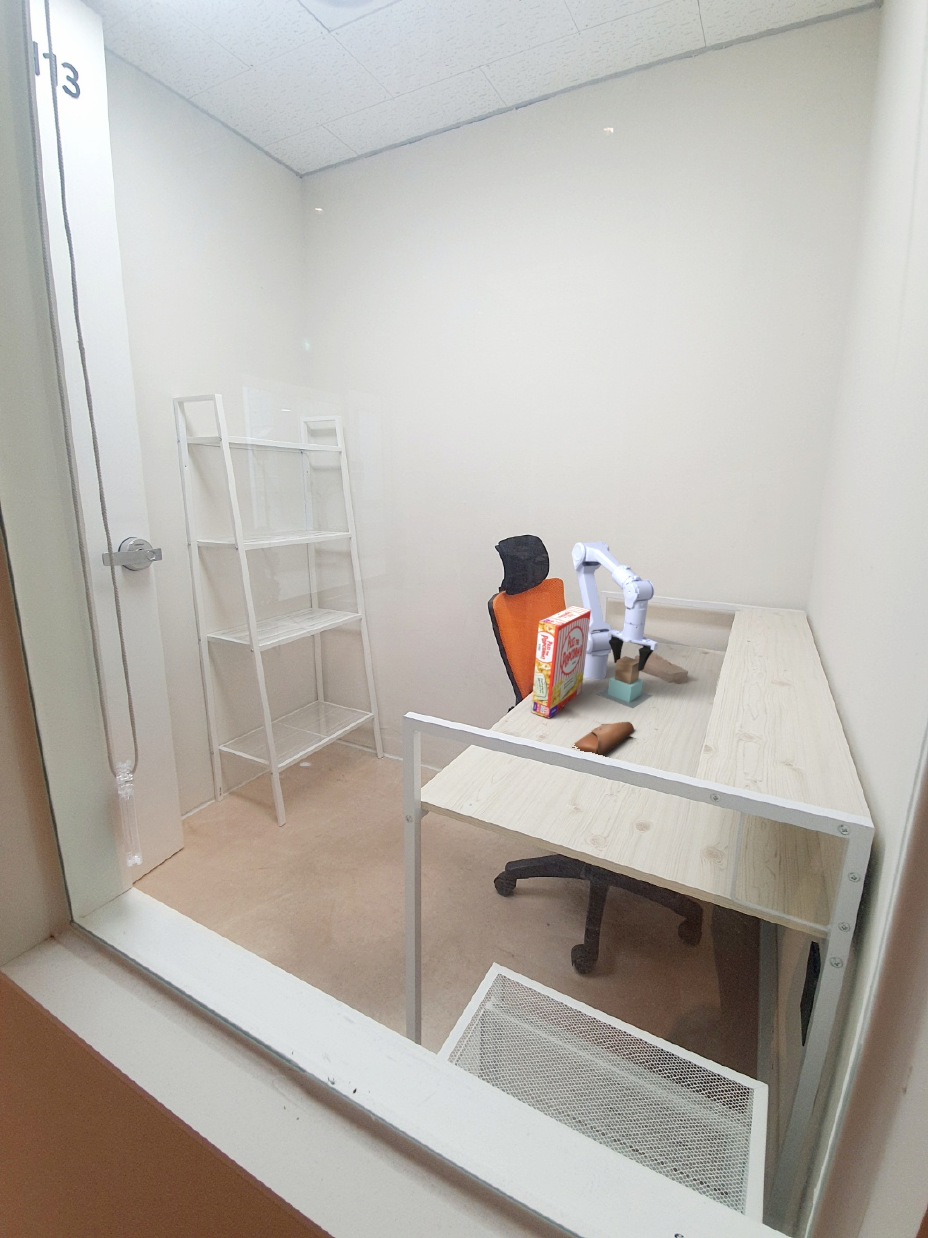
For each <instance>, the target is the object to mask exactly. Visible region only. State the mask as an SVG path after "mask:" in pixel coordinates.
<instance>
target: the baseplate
mask: <svg viewBox="0 0 928 1238" xmlns="http://www.w3.org/2000/svg"><path fill="white" fill-rule="evenodd" d="M608 689H609V686H608V687H605V688H603V689H602V690H601V691H599V692H597V693H596V695H597V696H600V697H603V698H605V699H607V700H610V701H613V702H615V703H617V704H621V705H622V706H626V707H629V708H631V709H634V708H636V707H638V706H639V705H641V704H642V703H643V702H645V701H647V700H648V699H650V698H651V697H653V694H650V693H647V692H644V691H641V695H640V696H639V697H637V698H635V699H634V700H632V701H631V702H627V701H624V700H621V699H619V698H616V697H614V696H611V695H608Z"/></svg>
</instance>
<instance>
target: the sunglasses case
mask: <svg viewBox="0 0 928 1238" xmlns="http://www.w3.org/2000/svg"><path fill="white" fill-rule="evenodd" d="M634 732H635V727H634V725H633V724H632V722H631V721H618V722H613V723H603V724H601V725H599V726H598V727H596V728H593V729H592V730H591V732H589V733H587V734H586V735H584V736H583V737H581V738H580V739H578V740H577V741H576V742H573V744H575V745H574V746H576V747H578V748H577V749H580V751H584V752H592V753H595V754H598V755H603V757H604V756H606V755H607V753H609V752H610V751H611V750H613V749H614V748H615V747H617V746H618V745H619V744H621V743H622V742H623V741H624V740H625V739H627V738H628V737H630V736H631V734H633V733H634ZM572 748H575V747H572ZM572 748H571V749H572Z"/></svg>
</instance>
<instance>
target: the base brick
mask: <svg viewBox="0 0 928 1238" xmlns="http://www.w3.org/2000/svg"><path fill="white" fill-rule="evenodd" d="M643 682H644V679H641V678H638V680H637V681H635V682H634V683H632V684H630V685H629V684H627V683H624V682H621V681H618V680H615V675H614V676H613V677H610V678H609V682H608V687H609V689H608V695H611V696H614V697H616V698H619V699H621V700H624V701H627V702H631V701H632V700H634V699H635V698H637V697H639V696H640V695H641V692H642V690H643Z"/></svg>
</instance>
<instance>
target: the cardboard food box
mask: <svg viewBox="0 0 928 1238" xmlns="http://www.w3.org/2000/svg"><path fill="white" fill-rule="evenodd" d="M590 614H591V610H590V609H586V608H583V607H580V606H576V605H571V606H570V607H568V608H565V609H564V610H562V611H560V612H557V613H555V614H553V615H551V616H548V617H547V618H544V619H542V620H539V621H538V630H537V631H538V632H537V642H536V653H535V664H534V665H535V666H534V674H533V675H534V676H533V686H532V696H531V697H532V698H531V705H530V712H531V713H533V714H536V715H539V716H541V717H543V716H545V717H544V718H546V717H550V718H552V717H553V716H554V715H556V714H557V713H558V712H559V711H561V710H563V708H564V706H565V705H566V704H568V703H569V702H570V701H572V700H573V699H574V698H575V697H576V696H578V695H579V694H581V692H582V690H583V684H584V682H583V681H584V666H585V657H586V649H587V640H588V631H589V623H590Z"/></svg>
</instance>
